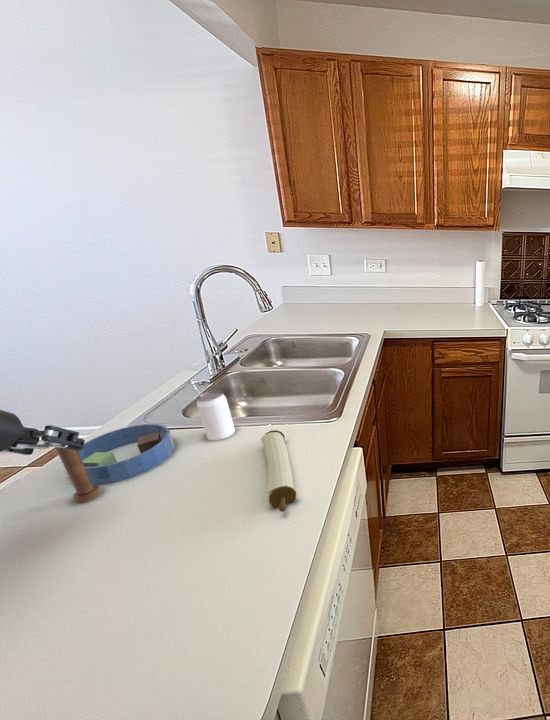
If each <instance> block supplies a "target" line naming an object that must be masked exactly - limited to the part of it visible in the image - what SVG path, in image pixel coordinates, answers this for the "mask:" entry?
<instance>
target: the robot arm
mask: <svg viewBox="0 0 550 720" xmlns="http://www.w3.org/2000/svg"><path fill="white" fill-rule="evenodd" d="M79 435H80V432H79V431H77V430H71V429H66V428H63V427H59V426H55V425H52V424H51V425H50V424H49V425H45V426H44V428H42V427H35V426H33V425H29V424H23V423H22V421H21V418H19V417H18V415H16V414H15V413H13V412H9V411H6V410H3V409H0V453H2V454H5V453H14V454H18V455H23V456H30V455H32V454H33V453H34V450H35V449H37V450H47V449H49V448H55V447H60V448H66V449H70V450H75V451H80V450H82V449H83V446H84V443H86V440H85V439H84V438H81V437H79ZM40 440H41V441H43V443H42V444H39V442H40Z"/></svg>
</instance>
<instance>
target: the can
mask: <svg viewBox="0 0 550 720" xmlns="http://www.w3.org/2000/svg"><path fill="white" fill-rule="evenodd" d="M196 400H197V402H196V407H197V410H198V414H199V417H200V420H201V424H202V427H203V430H204V433H205V436H206V438H207V439H208V440H209V441H219V440H225V439H227V438H229V437H231V436H232V435H233V434H235V431H236V428H235V425H234V420H233V418H232V417H233V416H232V413H231V410H230V406H229V403H228V399H227V397H226V395H225V394H224V392H223V391H221V390H211V391H207V392H203V393H201V394H199V395H198V396H197V397H196Z"/></svg>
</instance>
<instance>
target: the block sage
mask: <svg viewBox="0 0 550 720" xmlns="http://www.w3.org/2000/svg"><path fill="white" fill-rule="evenodd" d="M82 462H83V464H84V466H85V467H94V466H101V465H108V464H112V463H116V462H118V461H117V459H116V456H115V454H114V452H113V451H107V452H95V453H94V454H92V455H91V456H89V457H88V458H86V459H85V460H83V461H82Z"/></svg>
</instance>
